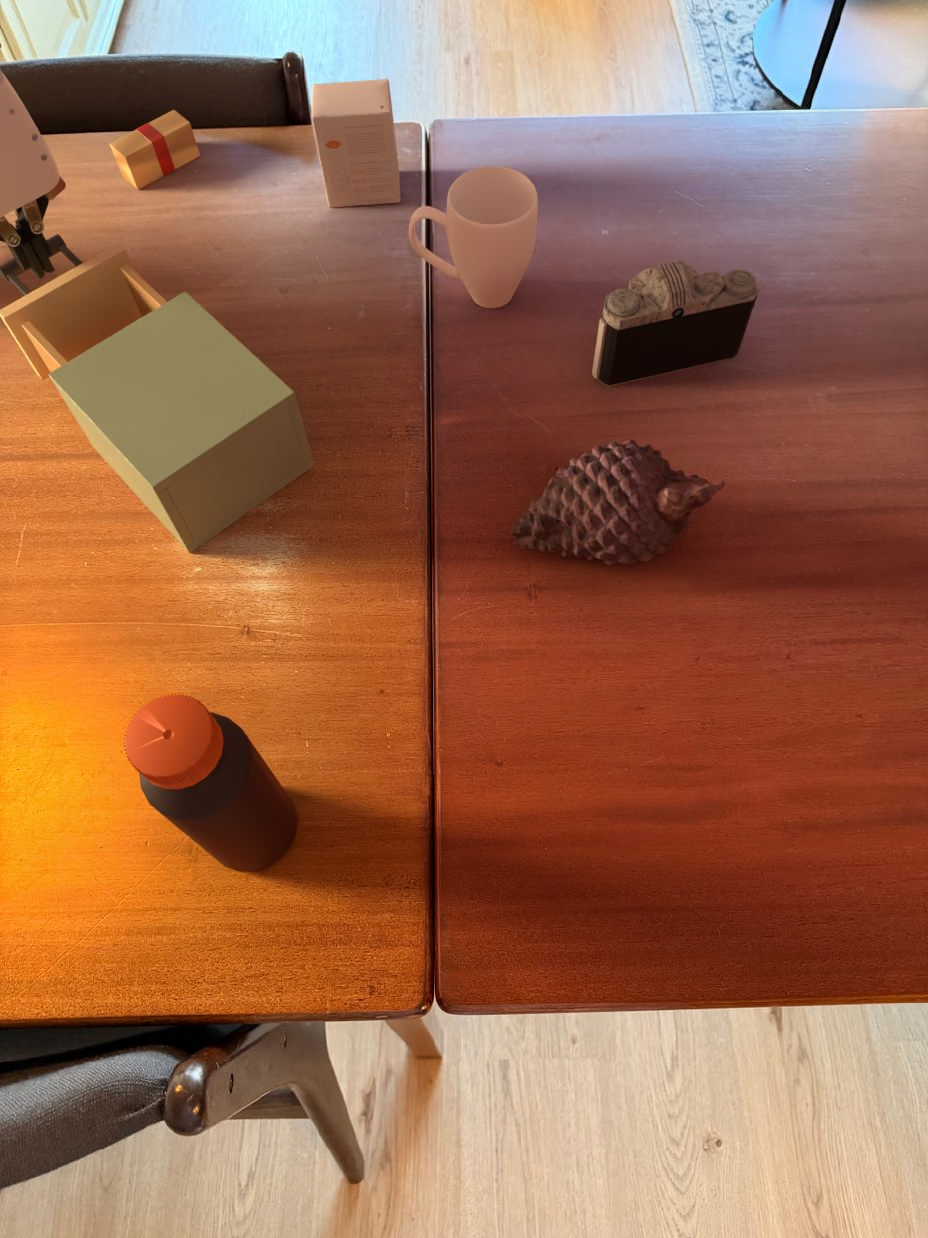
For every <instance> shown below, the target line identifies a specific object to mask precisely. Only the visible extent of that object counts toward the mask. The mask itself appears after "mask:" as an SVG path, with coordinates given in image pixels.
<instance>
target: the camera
mask: <svg viewBox="0 0 928 1238" xmlns="http://www.w3.org/2000/svg"><path fill="white" fill-rule="evenodd" d="M758 293H759V288H758V286H757V279H756V277H755V275H754V274H753V273H752V272H751V271H748V270H746V269H742V268H735V269H731V270H729V271H727V272H726V273H725V275H721V274H720V272H719V270H718V269H717V270H713V271H708V272H703V273H698V272H697V271H696V270H695V268H693V267H692V266H691V265H688V264H685V261H683V260H677V261H673V262H672V261H671V262H667V263H663V264H658V265H654V266H651V267H649V268H646V269H643V270H642V271H640V272H639V273H638V274H636V275H635V276H633V277H631V278H629V281H628V287H627V288H617V289H614V290H613V291H612V292H611V293H608V294H606V296H605V297H604V303H603V309H602V316H601V317H600V318H599V320H598V321H599V322H598V329H597V337H596V343H595V350H594V356H593V364H592V369H591V375H592V376H593V378H594V379H595V380H597V381H598V382H600V383H601V384H603V385H604V386H607V387H614V386H618V385H622V384H626V383H627V384H628V383H631V382H636V381H641V380H645V379H648V378H653V377H657V376H662V375H667V374H671V373H676V372H680V371H684V370H689V369H694V368H697V367H702V366H705V365H710V364H714V363H719V362H724V361H728V360H733V359H735V357H736V356H737V354H739V351H740V348H741V345H742V342H743V339H744V336H745V333H746V330H747V327H748V325H749V321H750V319H751V316H752V314H753V310H754V307H755V304H756V301H757V298H758Z"/></svg>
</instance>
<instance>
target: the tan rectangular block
mask: <svg viewBox="0 0 928 1238" xmlns="http://www.w3.org/2000/svg"><path fill="white" fill-rule="evenodd" d="M109 146H110V148H111V152H112V154H113V156H114V159H115V161H116V164H117V166H118V168H119V169H118V170H119V171H120V174H121V176H122V177H123V178H124V179H125V180H126V181H127V182H128V183H129V184H130V185H132V186H133V187H134V188H135V190H137V191H139V190H141V189H143V188H144V187H146V186H148V185H150V184H152V183H153V182H155V181H157V180H159V179H161V178H162V177H165V176H168V175H169V174H171V173H173V172H175V171H176V170H177V169H179V168H181V167H182V166H185V165H186V164H188V163H190V162H193V160H195V159H197V158H199V157H201V154H200V150H199V147H198V144H197V141H196V137H195V134H194V131H193V128H192V125H191V122H190V121H189V120H187V119H186V117H184V116H182V115H181V114H180V113H179V112H178V111H176V110H175V109H172V110H170V111H168V112H167V113H165V114H162V115H161V116H159V117H156V118H155V119H153V120H152V121H149V122H146V123H144V124H143V125H141V126H139V127H137V128H136V129H134V130H132V131H131V132H129V133H127V134H125V135H122V136H121V137H119V138H118V139H117V138H116V140H113V141H112V142H110V143H109Z"/></svg>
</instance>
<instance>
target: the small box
mask: <svg viewBox="0 0 928 1238" xmlns="http://www.w3.org/2000/svg"><path fill="white" fill-rule="evenodd" d="M311 92H312V93H311V94H312V95H311V123H312V127H313V133H314V138H315V142H316V148H317V153H318V159H319V164H320V170H321V174H322V179H323V184H324V190H325V194H326V200H327V205H328V207H329V208H342V207H358V206H369V205H372V206H373V205H383V204H384V205H385V204H398V203H401V181H400V166H399V165H400V164H399V158H398V157H399V156H398V147H397V139H396V129H395V123H394V121H395V120H394V112H393V103H392V95H391V86H390V81H389V78H381V79H380V78H379V79H366V80H354V81H353V80H352V81H340V82H339V81H338V82H327V83H326V82H325V83H314V84H312V91H311Z"/></svg>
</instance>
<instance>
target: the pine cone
mask: <svg viewBox="0 0 928 1238" xmlns="http://www.w3.org/2000/svg"><path fill="white" fill-rule="evenodd" d="M725 486H726V481H725V480H724V479H723V480H720V481H719V482H717V483H716V484H715V483H714V484H711V482H710V481H708V480H707V479H706V478H704V477H700V476H698V474H692V475H690V476H686V475H685V472H684V471H683V470H681V469H680V470H677V471H676V470H673V469H672V468H671V465H670V463H669V460H667V459H665V458H664V457H662V451H660V450H658V449H654V448H653V447H652V445H651V444H645V445H644V444H643V445H641V446H639V444H638V443H637V442H636V440H634V439H628V440H625V441H623V443H621V444H620V443H619V442H616V441H611V442H608V443H605V444H603V445H596V446H594V447H593V448H592V451H585V452H584V453H583V454H582V455H581V456H578V457H577V456H573V457H571V459H570V460H569V466H567V467H565V466H564V467H559V468H558V470H557V471H556V474H555V476H553V477H551V478H550V480H549V481H548V484H547V486H546V487H545V488H544V490H543V493H542V494H543V495H540V496H539V497H537V498H536V499H534V500H531V501H530V503H529V508H528V509H527V511H523V512H522V513H521V514H520V515H521V516H520V517H518V519H517V522H514V523H512V525H511V530H510V537H513V538H514V540H513V542H512V544H513V545H514V546H515V547H516V548H517V549H523V550H528V549H531V550H533V551H541V552H543V553H548V552H552V553H556V554H558V555H561V556H562V557H563V558H565V557H566V558H567V557H574V558H579V559H581V558H586V559H587V560H589V561H592V560H595V559H599V560H603V561H604V563H605V564H607V565H609V566H611V565H615V564H616V563H620V564H622V565H623V564H628V565H632V564H636V563H637V562H638V561H639V560H640V561H641V562H648V561H650V560H652V559H653V558H652V557H654V556H655V555H656V554H662V553H666V550H667V547H668V546H669V545H670V543H672V542H673V541H675V540H676V537H677V536H678V535H679V536H680V537H684V536H685V535H686V534H687V531H688V526H689V516H690V514H691V513H692V511H693V510H695V509H697V508H700V507H703V506H705V505H706V504H708V503H709V502H710V501H712V500H713V497H715V494H716V492H718V491H720V490H722V489H723V488H724V487H725Z"/></svg>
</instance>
